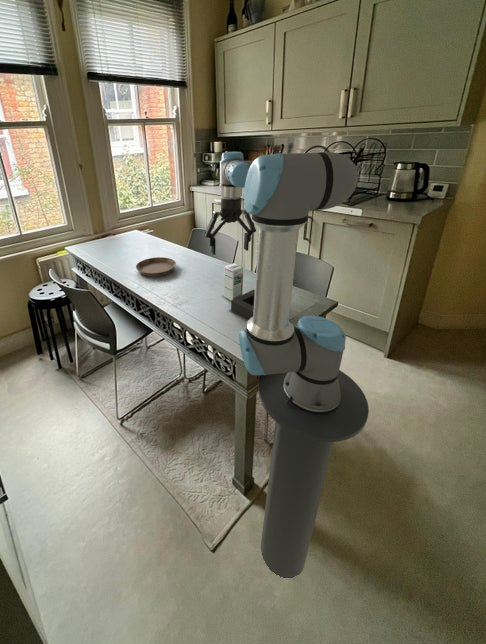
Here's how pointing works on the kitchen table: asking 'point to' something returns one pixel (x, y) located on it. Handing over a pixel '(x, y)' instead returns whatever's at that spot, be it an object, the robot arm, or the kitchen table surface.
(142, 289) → the kitchen table surface
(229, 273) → the syrup box
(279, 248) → the robot arm
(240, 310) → the dock
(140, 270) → the plant saucer
